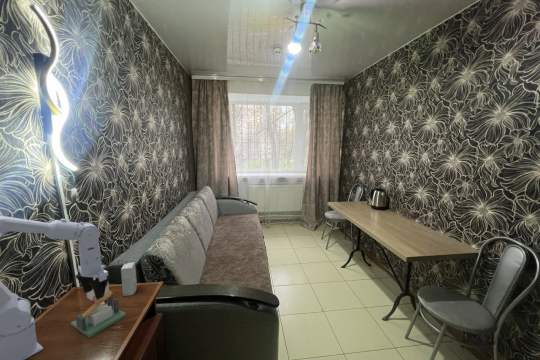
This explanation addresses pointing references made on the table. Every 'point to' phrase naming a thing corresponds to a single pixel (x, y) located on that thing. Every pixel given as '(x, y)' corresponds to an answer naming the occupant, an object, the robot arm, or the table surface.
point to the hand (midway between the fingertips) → (94, 294)
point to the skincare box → (129, 278)
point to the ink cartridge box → (91, 294)
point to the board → (101, 325)
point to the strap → (96, 304)
